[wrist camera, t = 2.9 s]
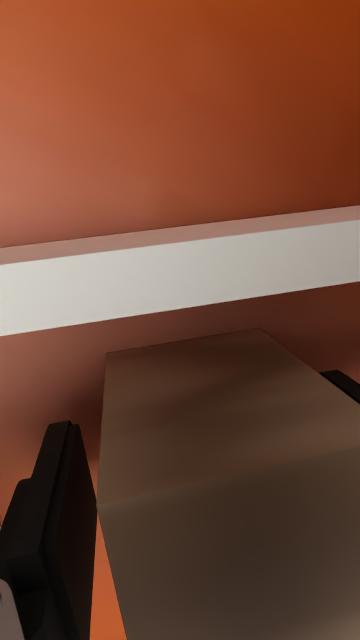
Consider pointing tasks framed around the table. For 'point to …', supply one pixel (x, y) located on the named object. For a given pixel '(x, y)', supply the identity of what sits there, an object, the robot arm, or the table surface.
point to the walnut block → (230, 492)
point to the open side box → (175, 268)
